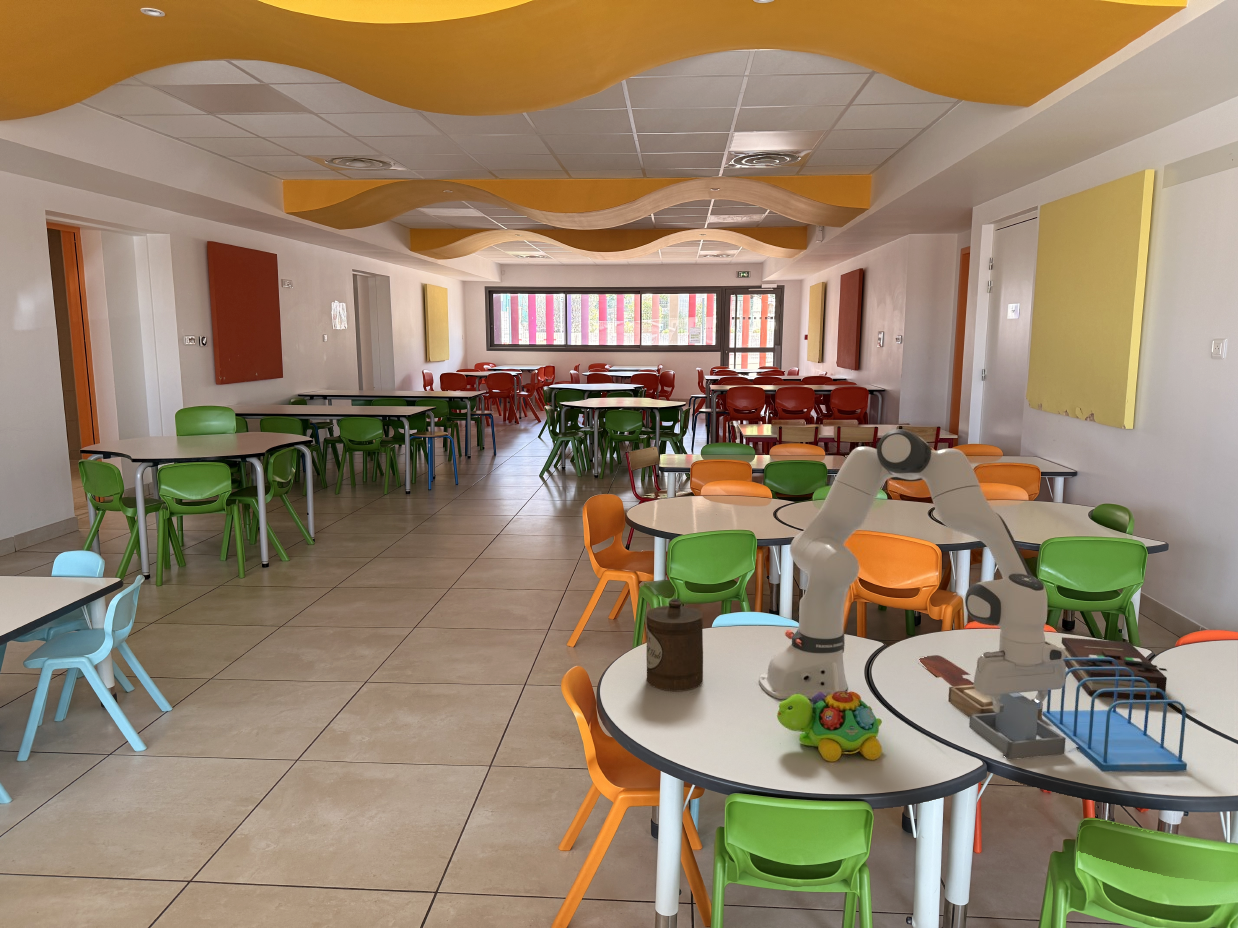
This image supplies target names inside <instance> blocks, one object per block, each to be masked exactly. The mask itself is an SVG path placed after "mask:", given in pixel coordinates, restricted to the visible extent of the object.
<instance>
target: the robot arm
mask: <svg viewBox="0 0 1238 928" xmlns="http://www.w3.org/2000/svg"><path fill="white" fill-rule="evenodd" d="M889 479H890V480H891V481H902V482H903V481H904V482H919V481H922V480H923V481H924V482H925V484H926V486H927V487H928V489H929V493H930V497H931V500H932V502H933V506H934V510H935V512H936V515H937V517H938V518H939V520H940V522H941V523H942V524H943V525H945V526H946V527H947V528H949V529H950V530H953V531H955V532H958V533H961V534H964V535H968V536H970V537H973V538H975V539H977V540H978V541H980V542H981V543H983V545H985V546H986V547H987V549H988V550H989V552H990V554H991V556H992V558H993V560H994V562H995V565H996V566H997V568H998V570H999V573H1000V575H1001V577H1002V578H1000V579H996V580H995V579H993V580H991V579H990V580H986V581H979V582H976V583H973V584H971V585H970V586H969V587H968V589H967V591H966V593H965V597H964V598H965V599H964V604H965V609H966V612H967V613H968V615H969V616H970V618H971V619H973V621H974V622H976V623H978V624H980V625H987V626H996V627H998V628H999V630H1000V632H999V644H998V645H999V646H998V647H999V648H998V650H997V651H991V652H990V651H986V652H983V654H981V655H980V656H979V657H977V660H976V661H977V662H976V669H975V672H974V678H973V683H974V688H975V689H976V690H977V691H978V692H979V693H981V694H983V695H985V696H987V695H989V697H990V699H991V701H992V702H993V711H995V712H996V713H1000V712H1004V710H1003V709H1004V705H1003V704H1001V703H1000V702H999V701H998V699H1000V694H1010V693H1020V694H1022V693H1030V692H1037V693H1036V695H1035V697H1034V698H1031V699H1030V700H1031V701H1033V702H1035V703H1036V704H1038V709H1042V703H1043V702H1044V701H1045V699H1046V698H1048V690H1051V691H1053V690H1062V687H1063V686H1064V684H1065V685H1066V683H1065V678H1066V679H1067V677H1066V671H1067V669H1066V668H1067V667H1066V665H1065V662H1064V661H1063V659H1065V655H1066V653H1065V651H1064V650H1062V649H1061V648H1062V647H1059V646H1057V645H1056V644H1053V643H1051V642H1048V641H1046V636H1045V630H1044V629H1045V626H1046V624H1047V623H1046V622H1047V619H1048V618H1047V617H1048V596H1047V595H1048V594H1047V590H1046V586H1045V584H1044V582H1042V581H1041V580H1040V578H1039V579H1038V578H1037V577H1035V576H1034V574H1033V573H1032V572H1031V570H1030V568H1029V566H1028V565H1027V563H1026V560H1025V558H1024V556H1023V555H1022V553H1021V551H1020V549H1019V546H1018V545H1017V543H1016V539H1014V538H1015V537H1014V536H1013V535H1012V533H1011V530H1010V529H1009V527H1008V525H1007V523H1006V521H1005V520H1004V519H1003V517H1002V516H1001V515H1000V514H999V513H997V512H996V511H995V510H994V509H993V507H992V506H991V505H990V503H989V502H988V500H987V498H986V497H985V495H984V492H983V490H982V488H981V485H980V481H979V479H978V477H977V475H976V473H975V471H974V468H973V466H972V464H971V463H970V461H969V459H968V458H967V456H966V454H965V453H964V452H963V451H961V450H960V449H958V448H957V449H956V448H942V449H939V450H938V449H937V450H933V449H932V447H931V446H930V445H929V444H928V442H927V441H925V439H923V438H922V437H921V436H919V435H917V434H916V433H914V432H912V431H911V430H907V429H902V428H901V429H893V430H890V431H888V432H886V433H885V434H883V436H882V437H881V438H880V440H879V441H878V444H877V446H876V448H874V447H871V446H858V447H855V448H854V449H852V450H851V452H850V453H849V455H848V456H847V458H846V459H845V460H844V461H843V463H842V465H841V467H840V469H839V471H838V472H837V474H836V476H835V478H834V481H833V483H832V485H831V487H830V489H829V491H828V494H827V496H826V497H825V499H824V501H823V504H822V506H821V507H820V508H819V511H818V512H817V513H816V515H815V516H814V517H813V519H812V520H811V521H810V523H809V524H808V525H807V526H806V528H804V530H803V531H800V533H798V534H796V535H795V536H794V538H793V539H792V541H791V542H790V547H789V550H790V551H789V552H790V556H791V557H792V560H793V561H794V564H795V565H796V566H797V568H799V569H800V570H801V571H803V572H804V573H806V575H807V585H806V589H805V592H804V595H803V596H802V597H801V598H800V600H799V612H798V614H799V615H798V628H797V630H796V631H795V632H793V630H791V629H786V631H784V636H785V637H786V638H787V639H789V640H791V643H790V644H789V645H788V646H787V647H785V648H784V649H782V650H781V651H779V652H778V653H777V654H776V655H774V656H773V657H772V658H771V659H770V660H769V663H768V669H767V673H762V674H760V675H759V677H758V684H759V685H760V687H761V688H762V689H763V691H764V692H766V693H767V694H768V695H770V696H772V697H774V698H776V699H780V700H786V699H788V698H790V697H791V696H792V695H795V694H801V695H803V696H805V697H806V698H807V699H808V700H811V698H812V697H813V696H814V695H815V694H817V693H819V692H822V693H823V694H825V696H826V695H831V694H833V693H834V692H838V691H844V692H846V690H847V689H848V682H847V678H846V674H845V666H844V665H845V664H844V653H845V641H846V640H845V632H844V613H845V604H846V603H845V602H846V599H847V596H848V592H849V590H850V586H851V585H852V584H853V583H854V582H855V581H856V580H857V578H858V576H859V573H860V563H859V561H858V558H857V557H856V556H855V554H854V553H853V552H852V550H851V549H849V547H847V546H846V545H844V544H845V543H846V542H847V541H848V539H849V538H850V537H851V536H852V535H853V534H854V533H855V532H856V531H857V530H859V529H861V528H862V527H863V526H864V524H865V522H866V520H867V519H868V516H869V514H870V512H871V509H872V508H873V506H874V502H875V501H876V498H877V497H878V495H879V492H880V490H881V488H882V486H883V485H884V484H885V482H886V481H887V480H889ZM1042 710H1043V709H1042Z"/></svg>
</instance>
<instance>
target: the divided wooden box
mask: <svg viewBox="0 0 1238 928" xmlns="http://www.w3.org/2000/svg"><path fill="white" fill-rule="evenodd" d="M970 689H975V688H974V685H966V686H954V687H953V686H949V687H948V702H949V703H950V704H952V705H953V706H955V707H956V708H957V709H958V710H960V711H961V712H963V713H964V714H966V716H968V717H969V718H970V715H975V714H986V713H996V712H995V711H993V706H990V707H981V706H979V705H978V704H976V703H975V702H973V701H972V700H971V699H969V698H968V697H966V696H965V695H963V692H964V690H970ZM1043 706H1044V704H1043V703H1042V709H1038V718H1037V720H1039V719H1042V718H1043V715H1042V713H1043Z"/></svg>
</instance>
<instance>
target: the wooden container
mask: <svg viewBox="0 0 1238 928" xmlns="http://www.w3.org/2000/svg"><path fill="white" fill-rule="evenodd" d="M703 617H704V616H703V613H702V611H700V610H699V609H697V608H694V607H690V606H684V605H682V601H681V600H680V599H679V598H675V597H673V598H671V599H670V600H669V601H668V605H662V606H657V607H653V608H651V609H649V610H648V611H647V612H646V681H647V683H648V684H649V685H650V686H652V687H654V688H656V689H659V690H664V691H669V692H683V691H688V690H689V691H690V690H693V689H696V688H698V687H699V686H701V684H703V681H704V642H703V641H704V640H703V635H704V634H703V633H704V631H703V626H704V625H703V624H704V623H703V622H704V618H703Z"/></svg>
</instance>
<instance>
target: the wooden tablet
mask: <svg viewBox="0 0 1238 928" xmlns="http://www.w3.org/2000/svg"><path fill="white" fill-rule="evenodd" d="M926 656H927V657H925V656H923V657H924V658H920V659H919V660H920V662H921V663H922V664H923V665H924V666H925V667H926V668H927V669H926V668H925V669H926V670H927V671H928V670H929V671H928V672H930V673H931V674H932V675H934V676H936V678H941V679H943V680H944V681H945V682H946V683H947V684H949V685H950V687H954V686H966V685H974V681H971V680H970V679H968V678H965V677H964V676H971V673H969V672H968V671H966V670H964V669H963V668H961V667H959V666H958V665H956V664H955V663H953V662H951V661H950V660H948V658H945V657H944V656H941V655H938V654H933V655H926Z"/></svg>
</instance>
